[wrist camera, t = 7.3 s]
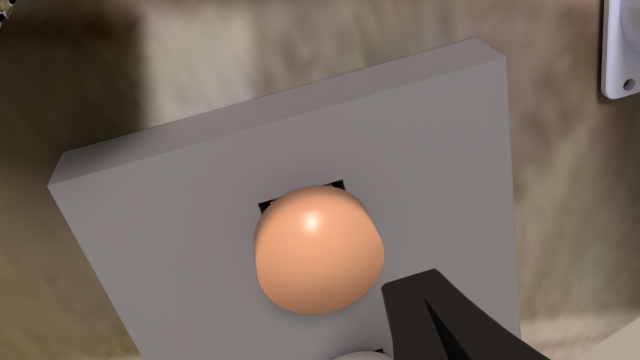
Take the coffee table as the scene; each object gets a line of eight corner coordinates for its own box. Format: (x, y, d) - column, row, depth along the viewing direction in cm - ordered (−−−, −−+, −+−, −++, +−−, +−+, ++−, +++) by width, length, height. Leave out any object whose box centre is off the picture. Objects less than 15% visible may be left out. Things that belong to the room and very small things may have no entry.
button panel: (476, 37, 22) (505, 56, 20) (501, 356, 31) (523, 394, 29) (62, 152, 21) (46, 185, 19) (214, 443, 30) (215, 488, 28)
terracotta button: (345, 141, 22) (372, 194, 18) (366, 231, 24) (392, 293, 21) (234, 172, 22) (240, 231, 18) (265, 260, 24) (275, 328, 21)
